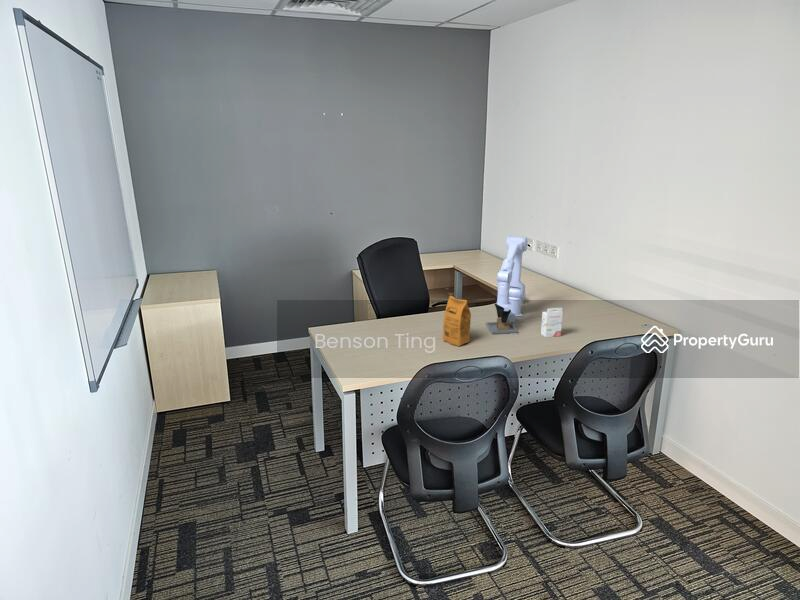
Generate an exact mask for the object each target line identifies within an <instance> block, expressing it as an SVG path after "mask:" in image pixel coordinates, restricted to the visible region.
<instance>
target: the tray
mask: <svg viewBox="0 0 800 600" xmlns="http://www.w3.org/2000/svg"><path fill="white" fill-rule="evenodd" d="M486 326H487V327H486ZM485 327H486V328H487V329H488V331H489V333H490V334H491V335H511V334H510V333H517V334H518V333H519V331H518V328H516V326H514V324H513V323H511V322H509V330H499V329H498V328H497V321H495V322H493V321H490V322H485Z"/></svg>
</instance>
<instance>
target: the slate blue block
mask: <svg viewBox="0 0 800 600" xmlns="http://www.w3.org/2000/svg"><path fill="white" fill-rule="evenodd" d="M508 319H509V322H513V323H516V322H515V321H516V316H515V314H514V313H512V312H510V314H509V316H508Z"/></svg>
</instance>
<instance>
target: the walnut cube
mask: <svg viewBox="0 0 800 600" xmlns="http://www.w3.org/2000/svg"><path fill="white" fill-rule="evenodd" d="M496 322H497V328H498V329H499V330H509V319H508V318H507V322H506V323H502V321H501V317H498V316H497V319H496Z"/></svg>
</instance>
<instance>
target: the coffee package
mask: <svg viewBox="0 0 800 600" xmlns="http://www.w3.org/2000/svg"><path fill="white" fill-rule="evenodd" d="M468 303H469V300H467V299H459V298H458V299H457V298H455V297H454V296H453V295H449V297H448V300H447V303H446V307H445V311H444V316H443V323H442V324H443V325H442V330H443V332H442V341H443V342H447V343H448V344H450V345H452V346H457V347H461V346H462V345H464V344H467V343H469V342H470V336H471V335H470V334H471V318H472V313H471V311H470V307H469V306H468Z"/></svg>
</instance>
